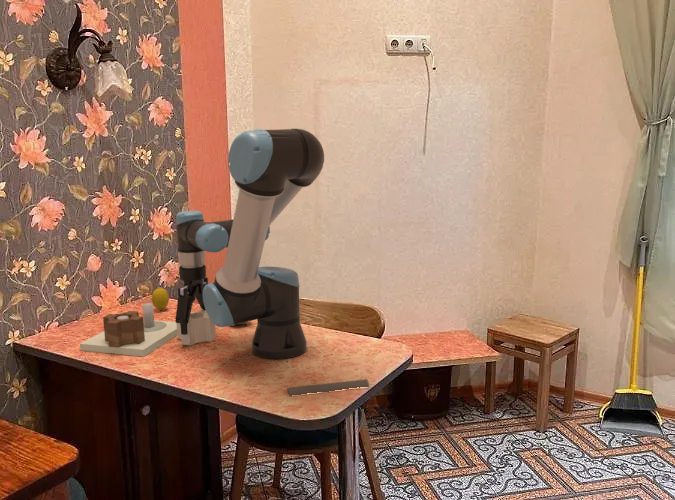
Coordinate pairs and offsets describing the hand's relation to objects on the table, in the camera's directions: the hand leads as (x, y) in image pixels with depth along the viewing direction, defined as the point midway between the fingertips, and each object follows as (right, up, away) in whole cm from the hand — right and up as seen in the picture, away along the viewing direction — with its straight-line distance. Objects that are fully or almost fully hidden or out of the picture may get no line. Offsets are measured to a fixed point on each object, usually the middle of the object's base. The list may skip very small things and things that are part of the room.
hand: (196, 337), depth 194 cm
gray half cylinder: (+39, -8, -36) cm, 54 cm away
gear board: (-18, 0, 0) cm, 18 cm away
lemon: (-18, +5, +28) cm, 34 cm away
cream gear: (0, 0, 0) cm, 0 cm away
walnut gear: (-19, 0, -8) cm, 20 cm away
